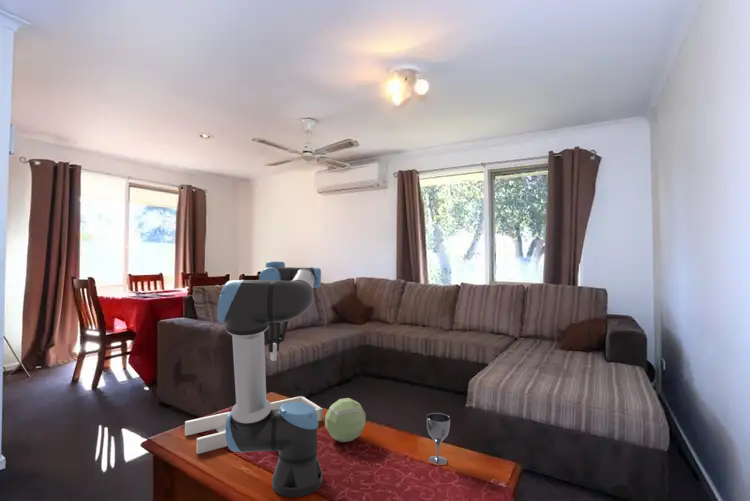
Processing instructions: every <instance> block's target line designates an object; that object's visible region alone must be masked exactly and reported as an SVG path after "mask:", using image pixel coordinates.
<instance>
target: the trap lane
mask: <svg viewBox="0 0 750 501" xmlns="http://www.w3.org/2000/svg"><path fill="white" fill-rule="evenodd" d="M289 402H300V403H305V404H308V405H310V406H312V407H314V408H315V410H316V411H317V416H318V422H322V421H323V414H324V413H323V412H324V411H323V410H324V409H323V408H322V407H320V406H319V405H317V404H316V403H315V402H313V401H311V400H310V399H307V398H306V397H305V396H304V395H299V396H294V397H291V398H286V399H281V400H277V401H272V402H270V403H271V406H272V410H279V408H280V406H281V405H282V404H284V403H289ZM229 412H230V411H227V412H222V413H218V414H217V413H216V414H213V415H208V416H203V417H198V418H195V419H190V420H186V421H184V436H191V435H195V434H198V433H200V434H201V433H203V432H207V431H211V430H216V433H212V434H207V435H204V436H200V437H196V448H195V449H196V454H197V455H199V454H203V453H206V452H211V451H214V450H218V449H221V448H226V447H228V445H227V442H226V436H225V431H226V428H225V426H226V419H227V416H228V414H229Z"/></svg>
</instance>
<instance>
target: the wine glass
mask: <svg viewBox="0 0 750 501" xmlns="http://www.w3.org/2000/svg"><path fill="white" fill-rule="evenodd" d="M450 417H451V416H449V415H448V414H445V413H441V412H432V413H431V412H430V413H428V414H427V415H426V429H427V433H428V435H429V436H430V437H431V438H432V440H433V441H434V444H435V448H436V455H432V456H429V457H430V458H429V457H428V458H429V461H430V462H433V463H435V464H439V465H441V464H442V465H443V464H446V463H447V460H448V459H447V458H446V457H444V456H440V446H441V444H442V442H443V441H444V440H445V439H446V438H447V437H448V435H449V432H450V428H451V418H450Z"/></svg>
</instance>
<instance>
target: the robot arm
mask: <svg viewBox="0 0 750 501" xmlns="http://www.w3.org/2000/svg"><path fill="white" fill-rule="evenodd" d="M321 284H322V269H321V268H319V267H313V266H312V267H291V266H290V267H286V263H285V262H284V261H270V260H269V261H266V263H265V268H264V269H262V270H261V272H260V274H259V277H258V280H257V279H256V280H255V279H253V280H252V279H235V280H228V281H226V282H225V283H224V285H223V287H222V288H221V291H220V294H219V298H218V303H217V312H216V314H217V315H216V316H217V317H216V318H217V322H218V323H222V324H225V331H226V332H227V334H229V335H231V337H232V338H231V339H232V354H233V355H232V357H233V369H234V370H233V372H234V373H233V374H234V385H235V387H234V390H235V404H234V405H233V406H232V408H231V411H228V412H229V414H228V416H227V419H226V426H225V428H226V431H225V436H226V442H227V445H228V446H227V447H228V448H229V450H230V451H232V452H234V453H235V452H236V453H242V454H243V453H245V454H246V453H249V452H251V453H253V452H278V460H277V463H276V465H275V468H274V472H273V475H272V480H271V481H272V482H271V487H272V490H273V491H274V492H275V493H276V494H278V495H280V496H282V497H286V498H299V497H305V496H308V495H310V494H313V493H314V492H316V491H317V490H319V489H320V488H321V486H322V483H323V472H322V470H323V469H322V468H321V464H320V461H319V459H318V428H319V421H318V416H317V411H316V410H315V408H314V407H312V406H310V405H308V404H305V403H300V402H289V403H284V404H282V405H281V406H280V408H279V410H272V406H271V402H270V400H268V399H267V380H266V352H265V343H266V344H268V352H269V353H270V355H269V356H270V358H269V360H270V361H272V362H274V361H275V362H277V360H278V359H277V357H278V354H277V353H278V352H279V351H280V343H281V342H284V341H285V336H286V332H287V329H288V328H287V327H288V323H289V322H290V321H292V320H294V319H296V318H298V317H300V316H301V315H303V314H305V313H306V312H307V311H309V309H310V308H311V307H312V304H313V302H314V299H315V292H314V289H315V288H320V287H321Z"/></svg>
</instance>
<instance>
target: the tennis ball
mask: <svg viewBox="0 0 750 501" xmlns="http://www.w3.org/2000/svg"><path fill="white" fill-rule="evenodd" d="M365 425H366V412H365V410H364V409H363V407H362V404H360V403H359V402H358V401H357V400H354V399H352V398H350V397H345V398H339V399H338V400H336V401H335V402H334V403H332V404H331V405H330V406H329V408H328V410H327V411H326V414H325V415H324V426H325V429H326V430H327V432H328V435H329V436H330V437H331V438H332V439H334V440H335V441H337V442H340V443H347V442H352V441H354V440H355V439H357V438H359V437H360V436H361V435H362V432H363V430H364V428H365Z"/></svg>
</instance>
